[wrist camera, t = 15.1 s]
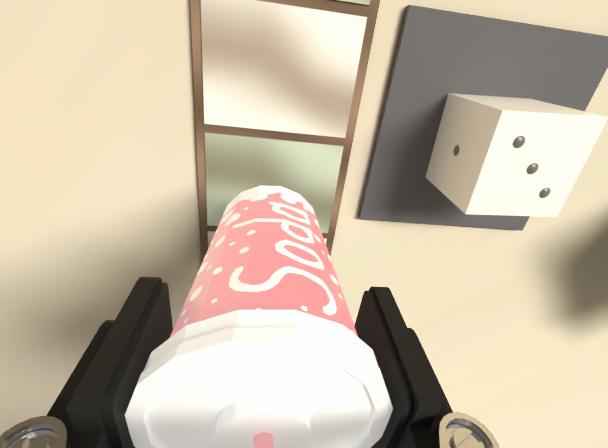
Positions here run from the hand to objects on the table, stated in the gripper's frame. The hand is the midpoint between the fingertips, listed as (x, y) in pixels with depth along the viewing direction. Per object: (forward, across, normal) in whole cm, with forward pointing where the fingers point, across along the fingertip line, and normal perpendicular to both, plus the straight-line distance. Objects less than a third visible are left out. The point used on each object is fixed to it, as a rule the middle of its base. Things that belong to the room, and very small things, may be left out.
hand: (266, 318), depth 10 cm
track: (+11, 0, -3) cm, 12 cm away
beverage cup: (+6, 0, 0) cm, 6 cm away
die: (+11, -12, -4) cm, 17 cm away
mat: (+11, -12, -4) cm, 17 cm away
